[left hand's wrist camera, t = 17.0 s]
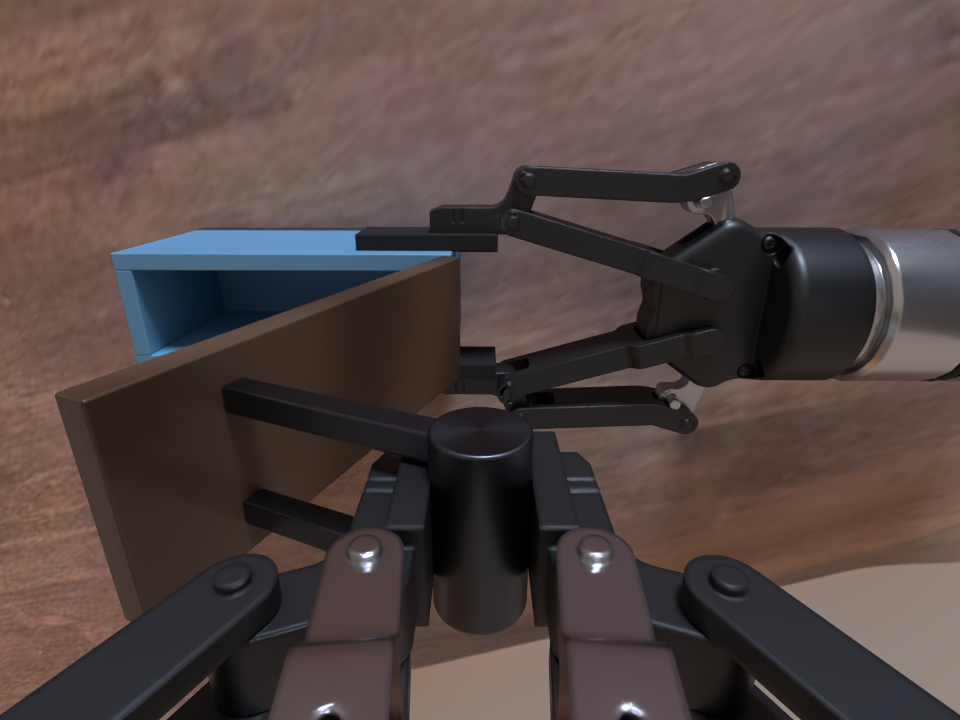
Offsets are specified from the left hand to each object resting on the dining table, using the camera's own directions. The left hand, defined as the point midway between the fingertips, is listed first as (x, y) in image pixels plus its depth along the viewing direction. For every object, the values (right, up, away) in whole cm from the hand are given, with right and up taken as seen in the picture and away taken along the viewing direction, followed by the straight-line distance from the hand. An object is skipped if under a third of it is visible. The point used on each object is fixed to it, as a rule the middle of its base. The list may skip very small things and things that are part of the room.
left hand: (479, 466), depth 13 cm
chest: (-9, +8, +20) cm, 23 cm away
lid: (-5, +2, +5) cm, 7 cm away
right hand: (-6, +5, +14) cm, 16 cm away
